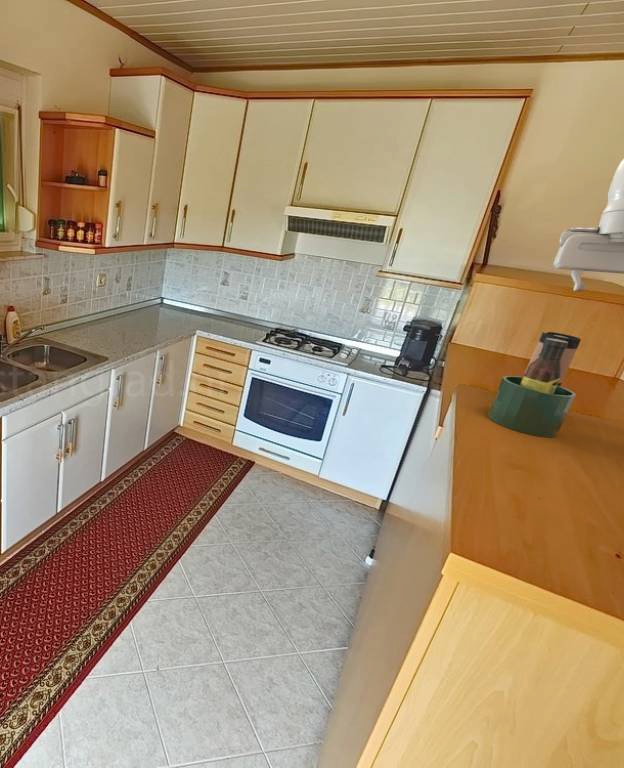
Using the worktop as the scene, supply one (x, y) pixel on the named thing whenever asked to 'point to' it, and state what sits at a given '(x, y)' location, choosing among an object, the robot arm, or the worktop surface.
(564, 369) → the travel mug
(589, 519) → the worktop surface
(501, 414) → the crock
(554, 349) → the sauce bottle
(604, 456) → the worktop surface
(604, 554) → the worktop surface
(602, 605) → the worktop surface
